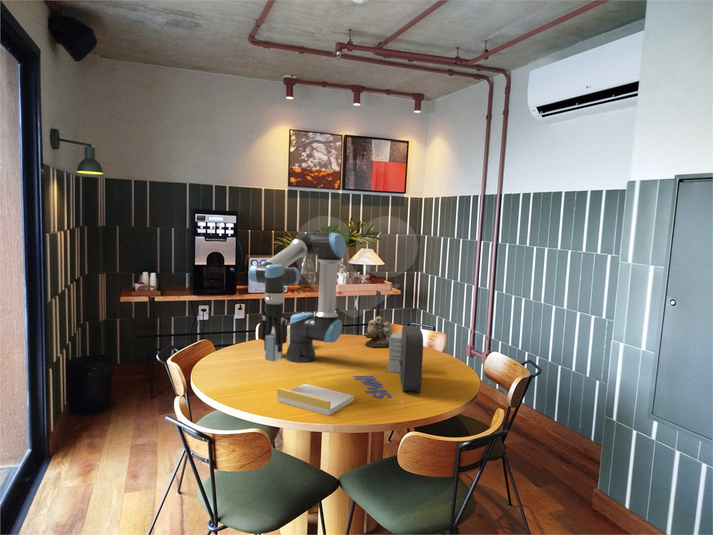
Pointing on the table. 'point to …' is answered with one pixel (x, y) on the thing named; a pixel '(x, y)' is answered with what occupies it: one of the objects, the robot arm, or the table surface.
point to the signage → (375, 384)
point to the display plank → (314, 398)
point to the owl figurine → (378, 333)
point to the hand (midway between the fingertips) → (273, 358)
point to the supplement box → (394, 352)
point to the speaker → (411, 358)
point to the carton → (271, 347)
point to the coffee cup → (288, 334)
